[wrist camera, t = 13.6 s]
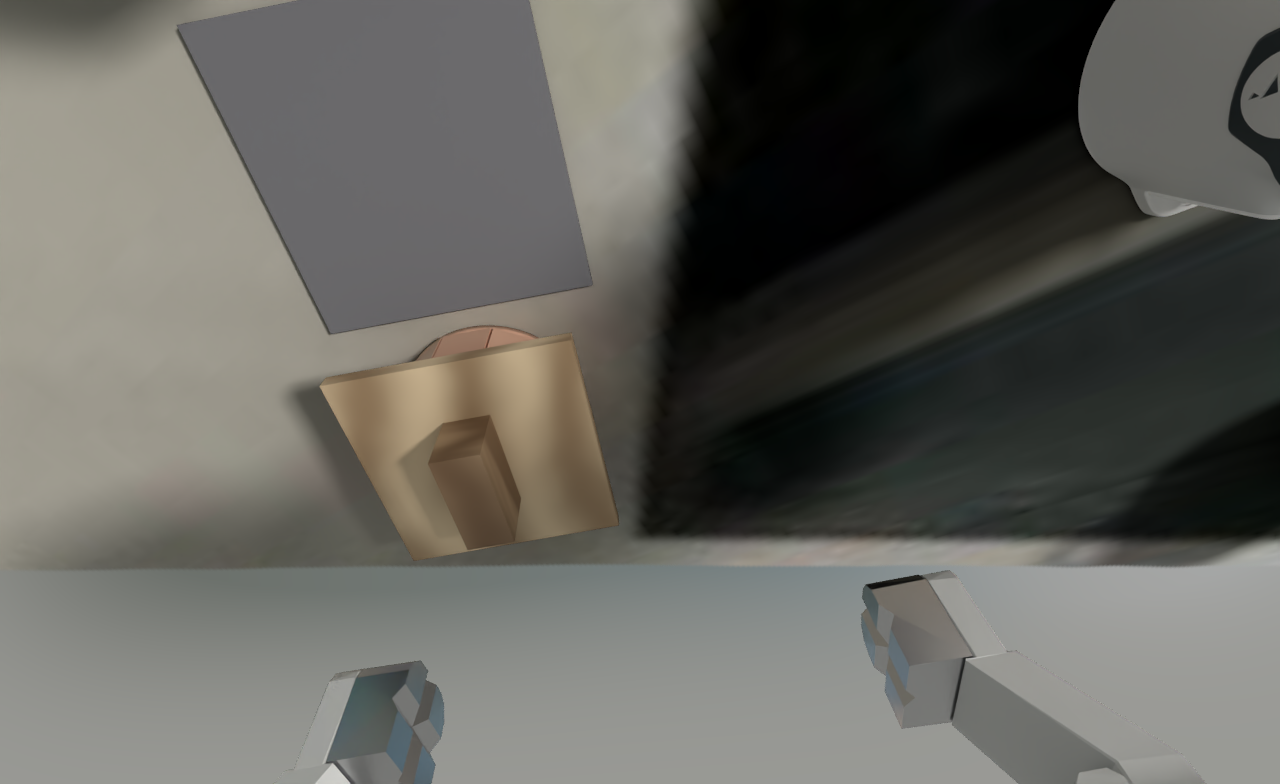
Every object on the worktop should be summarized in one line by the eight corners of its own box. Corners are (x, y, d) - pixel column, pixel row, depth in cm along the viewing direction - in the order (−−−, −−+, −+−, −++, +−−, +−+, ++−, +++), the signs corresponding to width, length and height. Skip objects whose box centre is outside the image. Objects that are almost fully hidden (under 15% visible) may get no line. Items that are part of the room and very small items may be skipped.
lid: (571, 332, 35) (568, 374, 31) (618, 515, 43) (621, 569, 39) (325, 377, 36) (290, 425, 31) (417, 550, 44) (398, 607, 39)
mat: (519, -44, 30) (518, -45, 30) (592, 283, 40) (592, 285, 40) (181, 25, 31) (176, 25, 31) (333, 331, 41) (331, 333, 40)
